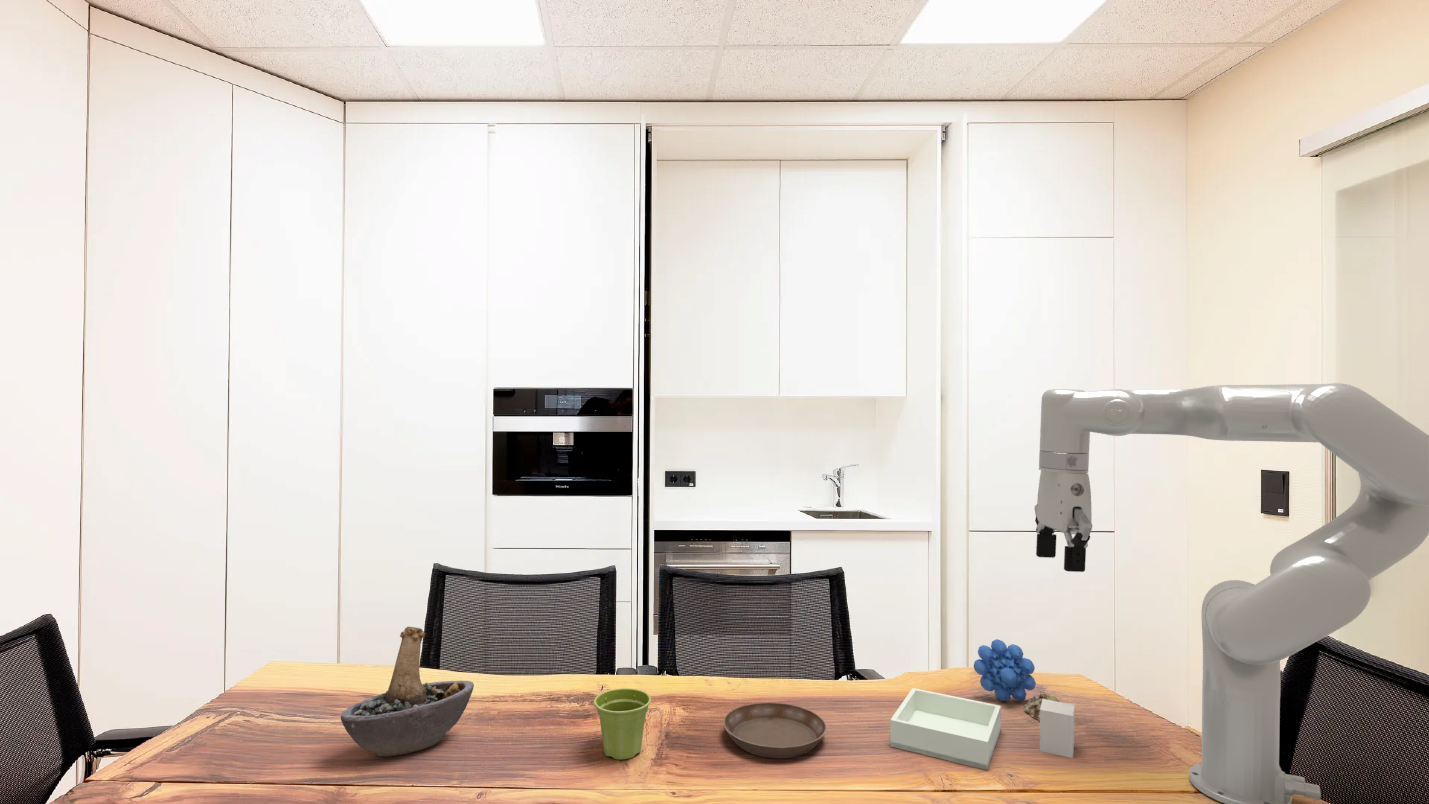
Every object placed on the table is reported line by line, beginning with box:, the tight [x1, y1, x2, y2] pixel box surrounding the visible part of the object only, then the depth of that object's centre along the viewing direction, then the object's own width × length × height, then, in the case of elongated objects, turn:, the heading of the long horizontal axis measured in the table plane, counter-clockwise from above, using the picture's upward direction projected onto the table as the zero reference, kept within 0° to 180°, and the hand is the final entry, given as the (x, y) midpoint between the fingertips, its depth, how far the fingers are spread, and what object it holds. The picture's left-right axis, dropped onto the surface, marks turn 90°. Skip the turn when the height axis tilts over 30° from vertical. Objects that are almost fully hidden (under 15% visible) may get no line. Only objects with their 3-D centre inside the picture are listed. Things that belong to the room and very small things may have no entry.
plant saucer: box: [723, 702, 827, 759], centre depth 124 cm, size 18×18×3 cm
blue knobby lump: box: [973, 639, 1037, 702], centre depth 140 cm, size 12×7×12 cm, turn 82°
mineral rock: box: [1023, 692, 1060, 723], centre depth 134 cm, size 11×4×8 cm
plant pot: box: [593, 687, 652, 760], centre depth 119 cm, size 9×9×9 cm
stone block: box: [1039, 699, 1076, 759], centre depth 122 cm, size 5×5×7 cm
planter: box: [340, 626, 475, 758], centre depth 119 cm, size 15×17×20 cm
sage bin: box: [889, 687, 1002, 771], centre depth 125 cm, size 16×16×4 cm
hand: (1059, 563), depth 121 cm, fingers open, 9 cm apart
